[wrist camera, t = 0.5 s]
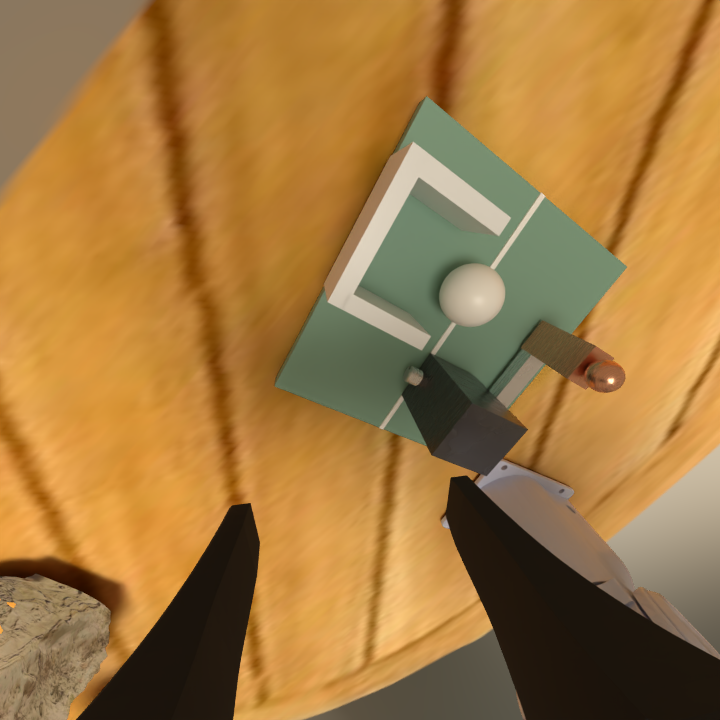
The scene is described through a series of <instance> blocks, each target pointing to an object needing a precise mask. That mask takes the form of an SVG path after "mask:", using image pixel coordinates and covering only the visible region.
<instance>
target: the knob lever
mask: <svg viewBox="0 0 720 720" xmlns="http://www.w3.org/2000/svg"><path fill="white" fill-rule="evenodd" d="M521 348H522V350H521V351H520V352H519V354H518V355H517V356H516V357H515V359H514V360H513V361H512V362H511V364H510V365H509V366H508V367H507V369H506V370H505V371H504V373H503V374H502V375H501V376H500V378H499V379H498V380H497V381H496V383H495V384H494V385H493V386H492V388H491V389H490V390H488V389H487V388H486V387H485V386H484V385H483V384H482V383H481V382H480V381H479V380H478V379H477V378H476V377H475V376H474V375H472V374H470V373H468V372H466V371H465V370H463V369H461V368H459V367H457V366H455V365H453V364H451V363H449V362H447V361H445V360H443V359H441V358H439V357H437V356H436V355H434V354H432V353H430V354H429V355H428V357H427V358H426V359H425V361H424V362H423V364H422V365H421V367H420V368H419V369H418V368H415V367H413V366H409V367H408V368H407V369H406V371H405V373H404V376H403V379H404V381H406V382H408V383H409V384H408V386H407V387H406V389H405V390H404V391H403V393H402V394H401V395H402V397H403V399H404V401H405V403H406V405H407V407H408V409H409V411H410V413H411V415H412V417H413V419H414V421H415V423H416V425H417V427H418V429H419V431H420V433H421V435H422V437H423V439H424V441H425V443H426V445H427V447H428V449H429V451H430V453H431V455H432V456H435V457H438V458H440V459H443V460H445V461H448V462H451V463H453V464H456V465H459V466H461V467H464V468H466V469H469V470H472V471H474V472H477V473H479V474H482V475H485V476H488V474H489V473H490V472H491V471H492V470H493V469H494V468H495V466H496V465H497V464H498V463H499V462H500V461H501V460H502V459H503V457H504V456H505V455H506V454H507V453H508V452H509V451H510V450H511V448H512V447H513V446H514V445H515V444H516V443H517V442H518V440H519V439H520V438H521V437H522V436H523V435H524V434H525V433H526V431H527V430H528V429H527V428H526V427H525V426H524V425H523V424H522V423H521V422H520V421H519V420H518V419H517V417H516V416H514V415H513V414H512V413H511V412H510V411H509V410H508V409H507V407H508V406H509V405H510V404H511V403H512V401H513V400H514V399H515V398H516V397H517V395H518V394H519V393H520V392H521V391H522V389H523V388H524V387H525V386H526V385H527V383H528V382H529V381H530V380H531V379H532V377H533V376H534V375H535V374H536V373H537V371H538V370H539V369H540V368H541V367H542V365H543V364H544V363H545V364H546V365H548V366H549V367H551V368H552V369H554V370H555V371H557V372H558V373H560V374H561V375H563V376H564V377H566V378H567V379H569V380H571V381H572V382H574V383H576V384H577V385H579V386H581V387H582V388H584V389H587V388H588V387H590V388H591V389H593V390H595V391H597V392H602V393H608V392H613V391H615V390H617V389H619V388H620V387H621V386H622V385H623V384H624V382H625V372H624V370H623V368H622V367H621V366H620V365H619V364H618V363H616V362H614V361H612V360H613V359H614V358H613V357H611V356H610V355H608V354H607V353H605V352H604V351H602V350H601V349H600V348H598V347H597V346H595V345H593V344H590V343H588V342H586V341H584V340H582V339H580V338H578V337H576V336H574V335H572V334H570V333H568V332H566V331H564V330H561V329H559V328H557V327H555V326H553V325H551V324H549V323H547V322H545V321H543V320H542V321H541V323H540V324H539V325H538V326H537V328H536V329H535V330H534V332H533V333H532V334H531V335H530V337H529V338H528V339H527V340H526V342H525V343H524V344H523V345H522V347H521Z"/></svg>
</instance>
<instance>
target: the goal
mask: <svg viewBox="0 0 720 720" xmlns="http://www.w3.org/2000/svg"><path fill="white" fill-rule="evenodd" d="M409 194H411V195H412V196H414V197H415V198H416V199H418V200H419V201H421V202H422V203H424V204H425V205H426V206H428V207H429V208H431V209H432V210H433V211H435V212H436V213H438V214H439V215H441V216H442V217H443V218H445V219H446V220H448V221H449V222H450V223H452V224H453V225H455V226H456V227H457V228H459V229H460V230H462V231H468V232H475V233H481V234H488V235H495V236H499V235H500V234H501V232H502V231H503V230H504V228H505V227H506V225H507V224H508V222H509V221H510V219H511V217H509V216H508V215H507V214H506V213H504V212H503V211H502V210H500V209H499V208H498V207H497V206H495V205H494V204H493V203H491V202H490V201H489V200H488V199H486V198H485V197H484V196H482V195H481V194H480V193H479V192H477V191H476V190H475V189H473V188H472V187H471V186H470V185H468V184H467V183H466V182H465V181H463V180H462V179H461V178H459V177H458V176H457V175H456V174H454V173H453V172H452V171H450V170H449V169H448V168H447V167H445V166H444V165H443V164H441V163H440V162H439V161H438V160H436V159H435V158H434V157H432V156H431V155H430V154H429V153H427V152H426V151H425V150H423V149H422V148H421V147H420V146H418V145H417V144H416V143H414V142H412V143H410V144H409V145H407V146H406V147H404V148H402V149H401V150H399V151H398V152H396V153H394V154H393V155H391V156H390V158H389V159H388V161H387V163H386V165H385V167H384V169H383V171H382V173H381V175H380V177H379V179H378V181H377V183H376V184H375V186H374V188H373V190H372V192H371V194H370V196H369V198H368V200H367V202H366V204H365V206H364V207H363V209H362V211H361V213H360V215H359V217H358V219H357V221H356V223H355V225H354V227H353V229H352V231H351V232H350V234H349V236H348V238H347V240H346V242H345V244H344V246H343V248H342V250H341V252H340V254H339V256H338V257H337V259H336V261H335V263H334V265H333V267H332V269H331V271H330V273H329V275H328V277H327V279H326V281H325V282H324V287H325V292H326V297H327V302H328V303H330V304H332V305H334V306H336V307H338V308H340V309H342V310H344V311H346V312H348V313H350V314H352V315H354V316H355V317H357V318H359V319H361V320H363V321H365V322H367V323H369V324H371V325H373V326H375V327H377V328H379V329H381V330H383V331H385V332H387V333H389V334H390V335H392V336H394V337H396V338H398V339H400V340H402V341H404V342H406V343H408V344H410V345H412V346H414V347H416V348H418V349H420V350H422V349H423V348H424V346H425V345H426V343H427V342H428V340H429V339H430V337H431V336H430V335H429V334H428V333H427V331H426V330H425V329H424V328H423V327H422V326H421V325H420V324H419V323H418V322H417V321H416V320H415V319H414V318H413V317H412V316H411V315H410V314H409V313H408V312H406V311H404V310H402V309H400V308H399V307H397V306H395V305H393V304H391V303H390V302H388V301H386V300H384V299H382V298H381V297H379V296H377V295H375V294H373V293H372V292H370V291H368V290H366V289H364V288H362V287H361V286H359V283H360V281H361V279H362V278H363V276H364V274H365V272H366V270H367V269H368V267H369V265H370V263H371V262H372V260H373V258H374V256H375V254H376V253H377V251H378V249H379V247H380V245H381V244H382V242H383V240H384V238H385V236H386V235H387V233H388V231H389V229H390V228H391V226H392V224H393V222H394V220H395V219H396V217H397V215H398V213H399V211H400V210H401V208H402V206H403V204H404V202H405V201H406V199H407V197H408V195H409Z"/></svg>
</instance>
